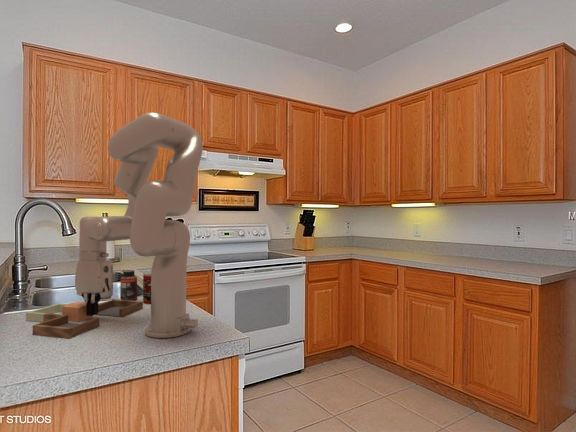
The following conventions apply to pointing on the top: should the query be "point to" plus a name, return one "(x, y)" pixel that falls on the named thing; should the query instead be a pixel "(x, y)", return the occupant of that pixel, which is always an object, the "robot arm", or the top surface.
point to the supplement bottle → (128, 285)
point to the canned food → (147, 287)
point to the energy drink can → (111, 280)
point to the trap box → (61, 328)
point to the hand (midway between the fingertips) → (92, 314)
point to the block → (75, 312)
